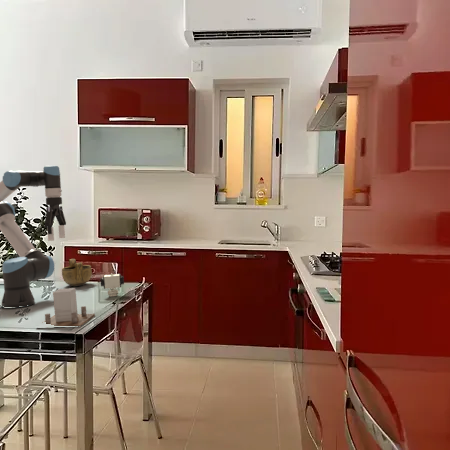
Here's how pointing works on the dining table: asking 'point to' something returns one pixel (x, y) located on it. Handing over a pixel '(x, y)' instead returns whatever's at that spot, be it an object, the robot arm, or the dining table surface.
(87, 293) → the dining table surface
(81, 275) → the tan woven basket
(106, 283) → the pneumatic valve
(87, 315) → the stub plate
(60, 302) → the supplement box
